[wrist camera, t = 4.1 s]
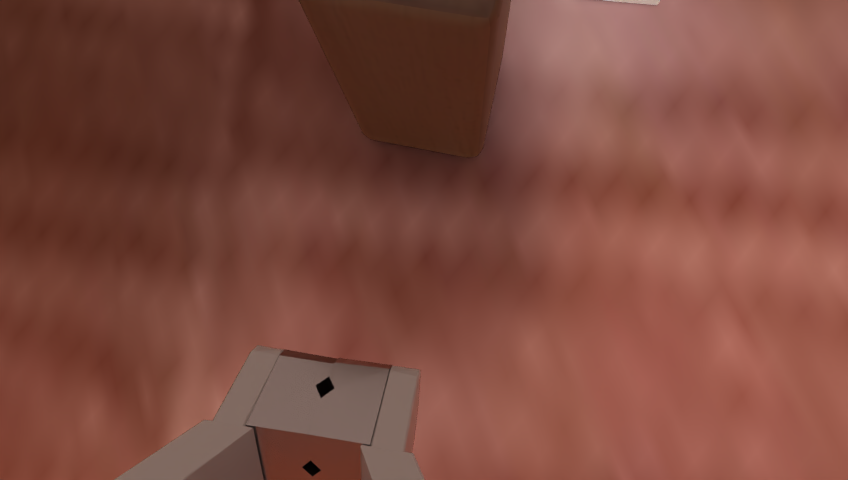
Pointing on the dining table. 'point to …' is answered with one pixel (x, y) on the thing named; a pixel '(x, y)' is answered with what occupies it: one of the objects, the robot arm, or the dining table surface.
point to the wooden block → (416, 66)
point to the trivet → (638, 1)
